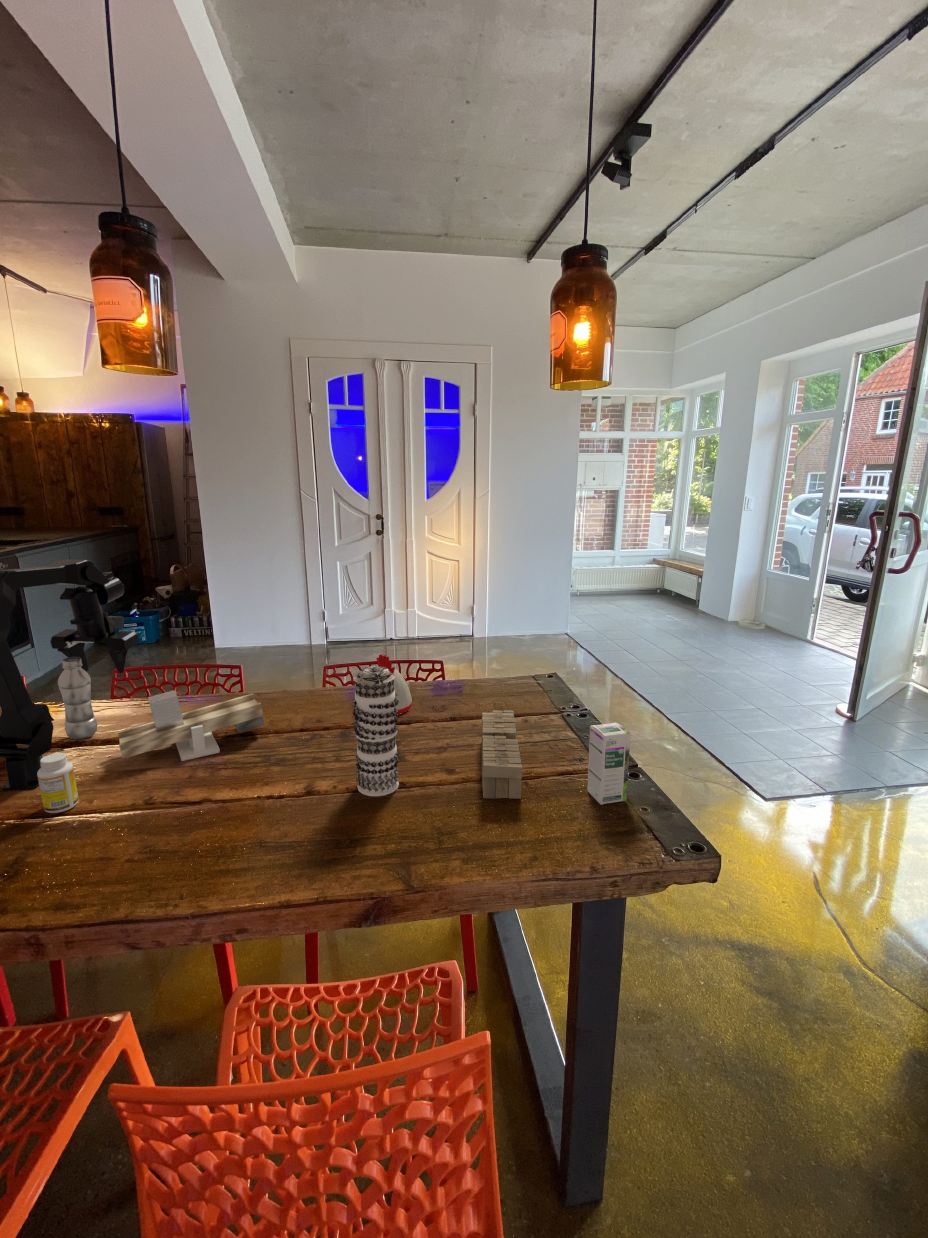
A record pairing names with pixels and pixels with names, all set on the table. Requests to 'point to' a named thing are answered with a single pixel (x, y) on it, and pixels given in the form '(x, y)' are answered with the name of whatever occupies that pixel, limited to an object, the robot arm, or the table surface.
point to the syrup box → (608, 763)
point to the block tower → (500, 756)
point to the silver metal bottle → (77, 699)
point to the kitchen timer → (398, 685)
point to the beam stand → (197, 744)
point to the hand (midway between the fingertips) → (103, 671)
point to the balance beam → (212, 718)
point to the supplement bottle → (57, 783)
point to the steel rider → (166, 711)
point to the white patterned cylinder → (376, 731)
